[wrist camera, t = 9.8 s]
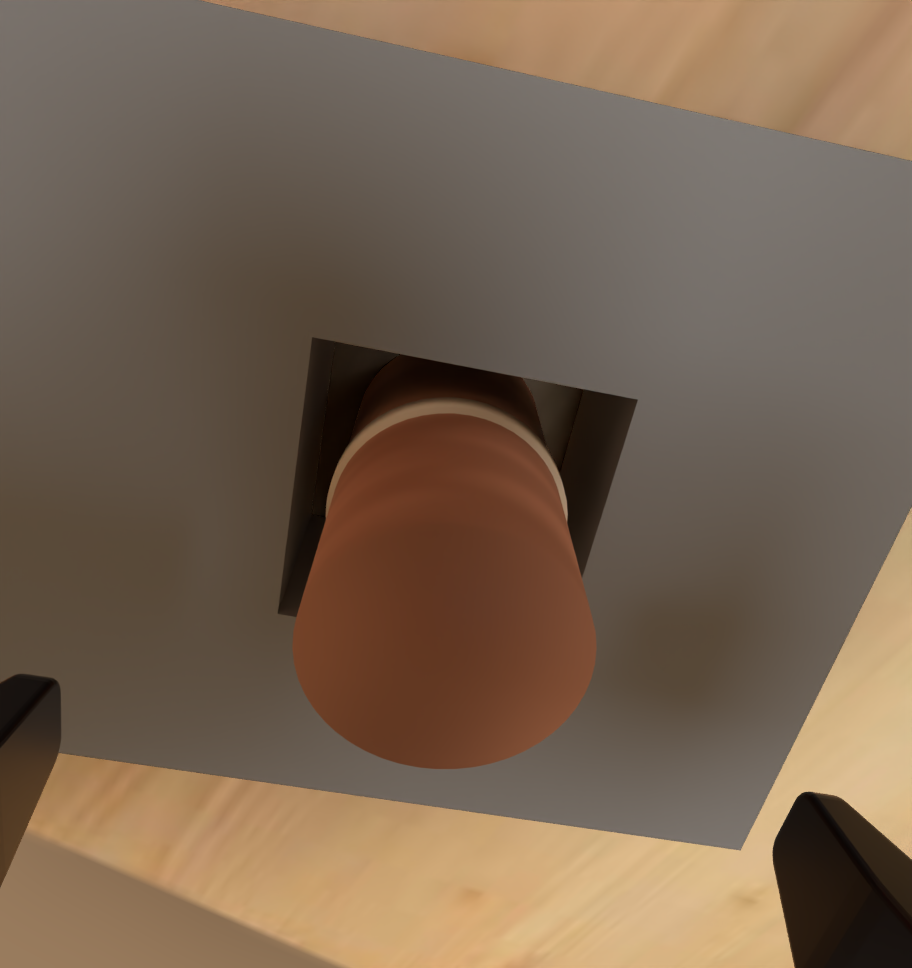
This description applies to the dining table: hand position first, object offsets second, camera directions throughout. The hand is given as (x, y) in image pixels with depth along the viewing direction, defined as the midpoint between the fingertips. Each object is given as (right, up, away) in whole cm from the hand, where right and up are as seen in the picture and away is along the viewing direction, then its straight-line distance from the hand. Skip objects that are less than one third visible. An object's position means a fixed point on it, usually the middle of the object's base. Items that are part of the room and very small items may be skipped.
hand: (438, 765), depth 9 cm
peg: (0, +4, +9) cm, 10 cm away
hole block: (0, +4, +9) cm, 10 cm away
